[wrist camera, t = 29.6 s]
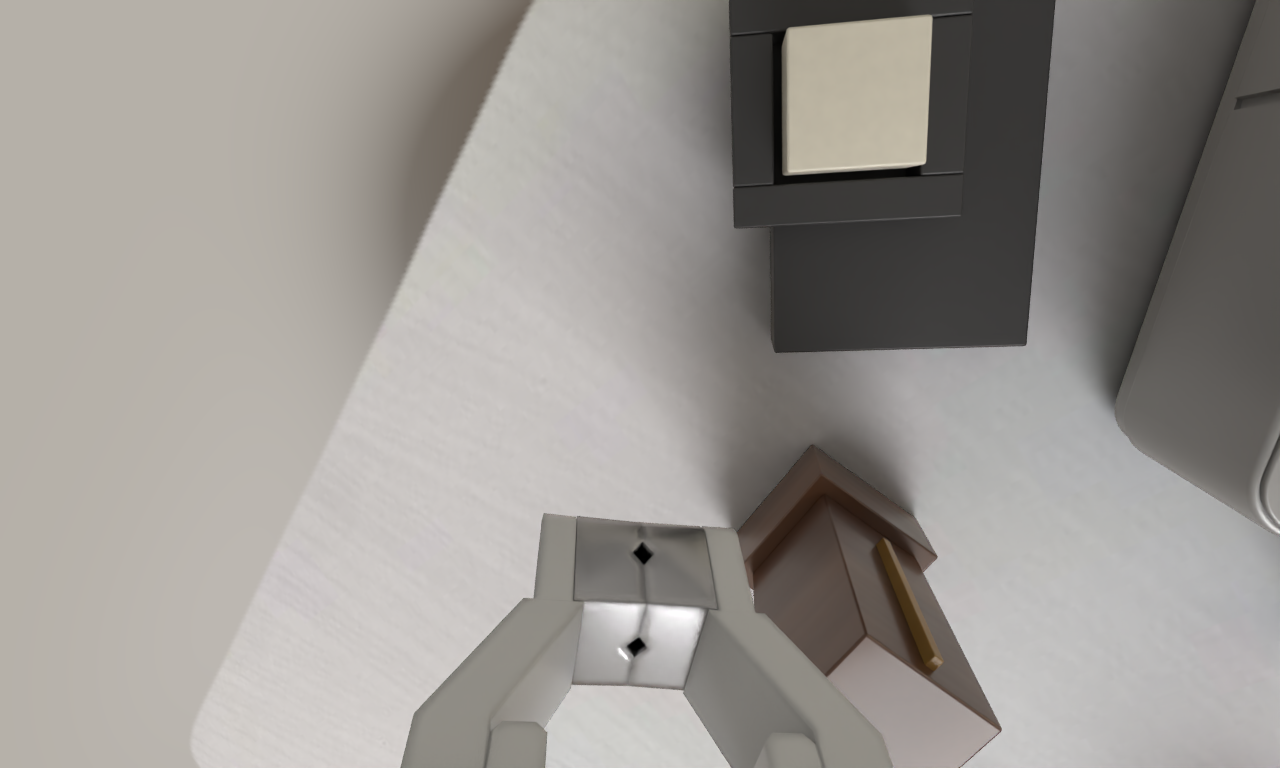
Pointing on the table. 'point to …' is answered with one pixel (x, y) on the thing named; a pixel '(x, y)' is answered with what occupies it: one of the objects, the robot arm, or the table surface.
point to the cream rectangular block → (856, 95)
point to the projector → (1221, 304)
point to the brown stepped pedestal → (866, 610)
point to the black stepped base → (901, 185)
